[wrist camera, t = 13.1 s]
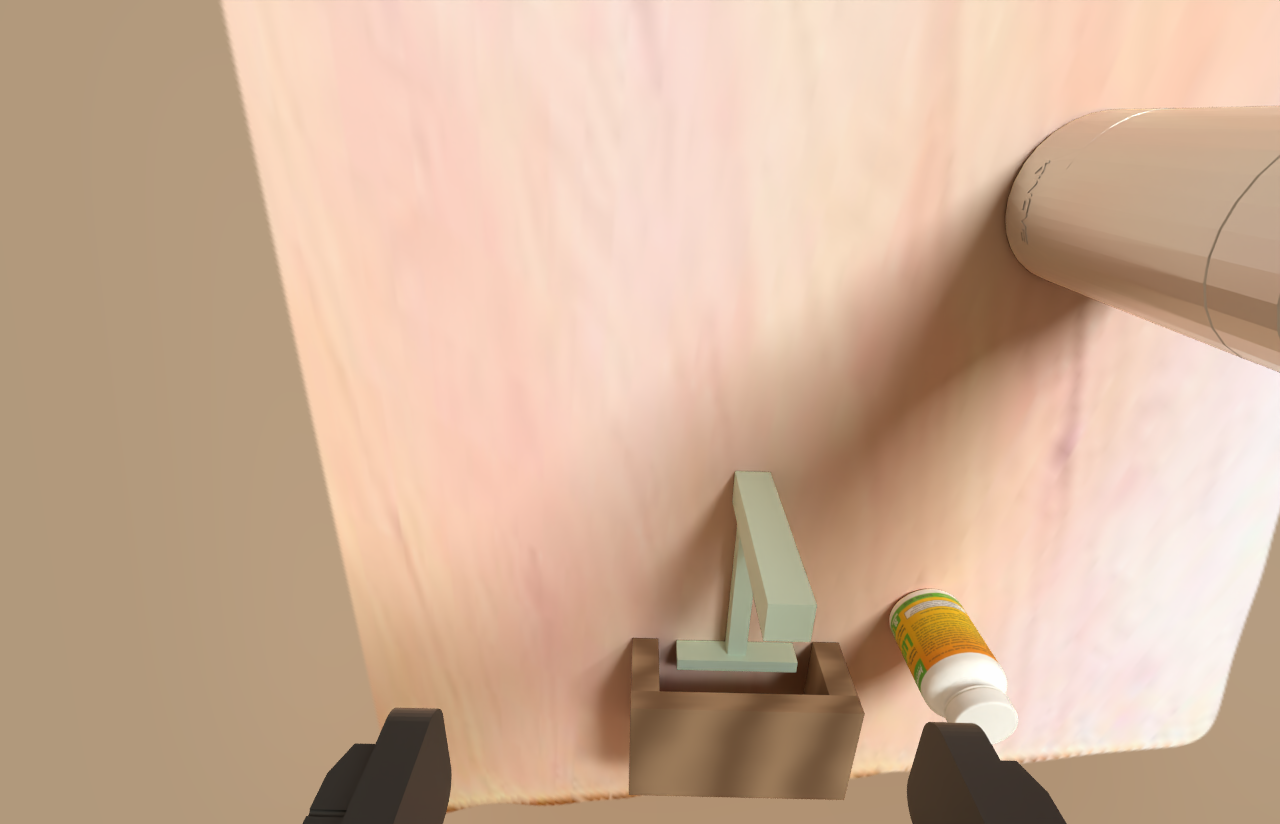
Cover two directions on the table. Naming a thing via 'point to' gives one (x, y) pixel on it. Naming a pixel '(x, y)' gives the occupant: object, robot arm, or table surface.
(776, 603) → the rake
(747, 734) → the wooden arch
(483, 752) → the table surface
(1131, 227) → the robot arm
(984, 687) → the supplement bottle
